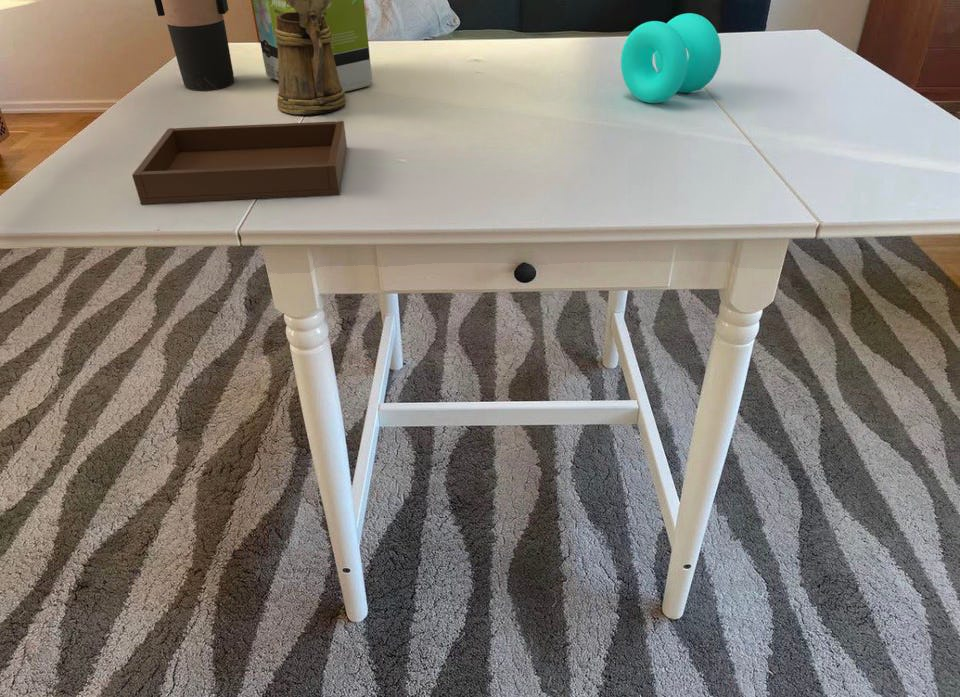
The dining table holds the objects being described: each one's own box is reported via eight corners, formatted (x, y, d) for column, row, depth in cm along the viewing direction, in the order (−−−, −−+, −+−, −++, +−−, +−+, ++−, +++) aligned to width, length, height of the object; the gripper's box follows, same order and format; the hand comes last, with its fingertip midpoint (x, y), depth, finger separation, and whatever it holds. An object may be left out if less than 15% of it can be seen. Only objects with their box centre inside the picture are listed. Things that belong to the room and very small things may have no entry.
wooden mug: (297, 129, 89) (271, -35, 79) (271, 101, 99) (244, -48, 89) (366, 118, 92) (349, -41, 82) (334, 92, 102) (315, -53, 92)
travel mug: (186, 78, 109) (149, -75, 98) (238, 75, 110) (208, -77, 99) (178, 92, 103) (138, -69, 91) (234, 89, 104) (200, -71, 92)
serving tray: (140, 204, 72) (131, 174, 70) (175, 154, 83) (167, 128, 81) (339, 194, 73) (335, 165, 72) (347, 147, 84) (343, 120, 83)
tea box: (264, 78, 108) (243, -33, 100) (323, 66, 114) (308, -40, 105) (313, 100, 99) (295, -21, 90) (375, 86, 104) (364, -29, 96)
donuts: (718, 97, 98) (732, 17, 92) (671, 113, 93) (683, 29, 87) (659, 82, 104) (669, 6, 99) (612, 95, 99) (620, 17, 93)
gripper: (239, -192, 91) (272, 5, 105) (72, -190, 90) (126, 9, 103) (227, -194, 85) (264, 16, 99) (48, -191, 84) (109, 21, 97)
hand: (193, 12), depth 101 cm, fingers open, 8 cm apart
